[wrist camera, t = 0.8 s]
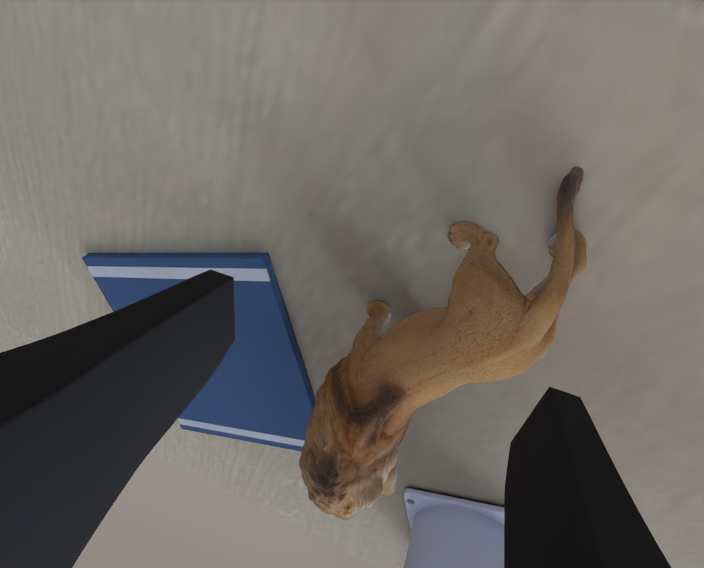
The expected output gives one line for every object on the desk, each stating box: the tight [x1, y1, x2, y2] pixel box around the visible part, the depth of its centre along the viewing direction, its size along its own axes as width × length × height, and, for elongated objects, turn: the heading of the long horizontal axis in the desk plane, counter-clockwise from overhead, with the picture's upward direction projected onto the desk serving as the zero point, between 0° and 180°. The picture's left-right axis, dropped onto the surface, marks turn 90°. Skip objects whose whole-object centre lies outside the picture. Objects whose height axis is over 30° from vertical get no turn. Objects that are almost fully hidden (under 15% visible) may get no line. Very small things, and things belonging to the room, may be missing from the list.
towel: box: [82, 253, 315, 451], centre depth 28 cm, size 16×13×1 cm
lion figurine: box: [299, 166, 586, 520], centre depth 16 cm, size 15×5×9 cm, turn 151°
